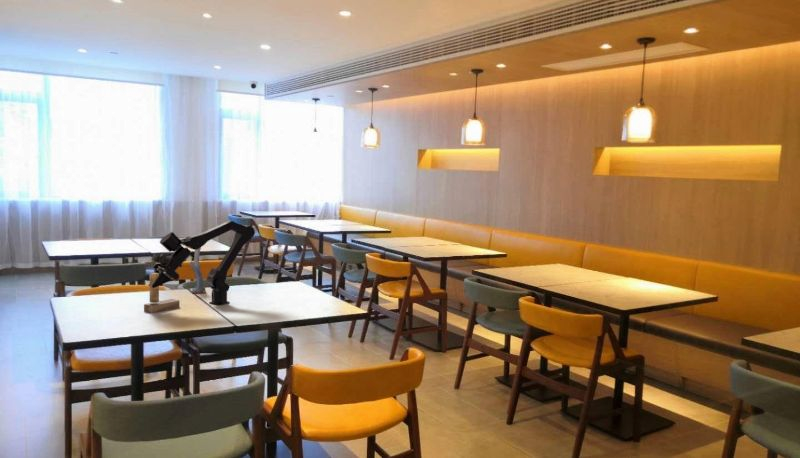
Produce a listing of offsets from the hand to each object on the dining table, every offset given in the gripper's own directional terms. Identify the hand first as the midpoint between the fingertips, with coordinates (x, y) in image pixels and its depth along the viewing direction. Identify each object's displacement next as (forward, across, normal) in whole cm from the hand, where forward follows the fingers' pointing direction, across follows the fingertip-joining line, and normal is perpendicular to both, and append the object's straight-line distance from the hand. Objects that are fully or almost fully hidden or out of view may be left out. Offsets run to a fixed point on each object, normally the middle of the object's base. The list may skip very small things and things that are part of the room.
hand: (150, 286), depth 242 cm
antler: (-15, -30, +30) cm, 45 cm away
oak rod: (+4, 0, +6) cm, 7 cm away
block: (+4, -1, +11) cm, 12 cm away
